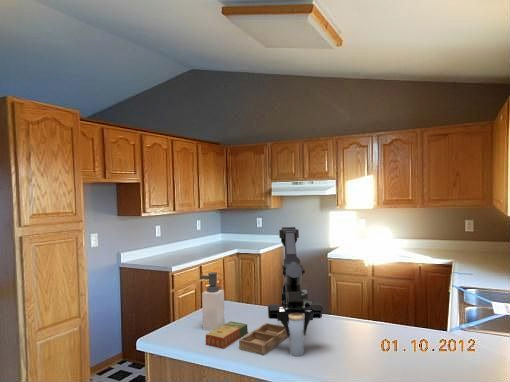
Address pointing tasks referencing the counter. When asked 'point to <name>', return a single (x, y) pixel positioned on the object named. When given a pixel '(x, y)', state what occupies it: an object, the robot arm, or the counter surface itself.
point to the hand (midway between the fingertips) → (296, 335)
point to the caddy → (263, 338)
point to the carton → (226, 334)
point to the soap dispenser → (212, 304)
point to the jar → (296, 334)
